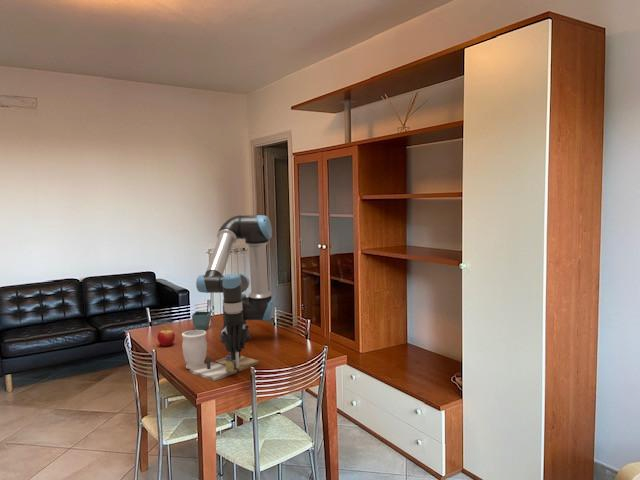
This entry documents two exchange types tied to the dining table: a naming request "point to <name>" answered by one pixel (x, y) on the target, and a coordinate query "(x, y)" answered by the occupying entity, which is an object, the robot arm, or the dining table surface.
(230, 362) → the latch bar
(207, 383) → the dining table surface
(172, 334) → the apple
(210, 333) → the dining table surface
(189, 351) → the jar
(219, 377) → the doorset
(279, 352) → the dining table surface
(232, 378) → the dining table surface
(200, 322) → the flower pot
